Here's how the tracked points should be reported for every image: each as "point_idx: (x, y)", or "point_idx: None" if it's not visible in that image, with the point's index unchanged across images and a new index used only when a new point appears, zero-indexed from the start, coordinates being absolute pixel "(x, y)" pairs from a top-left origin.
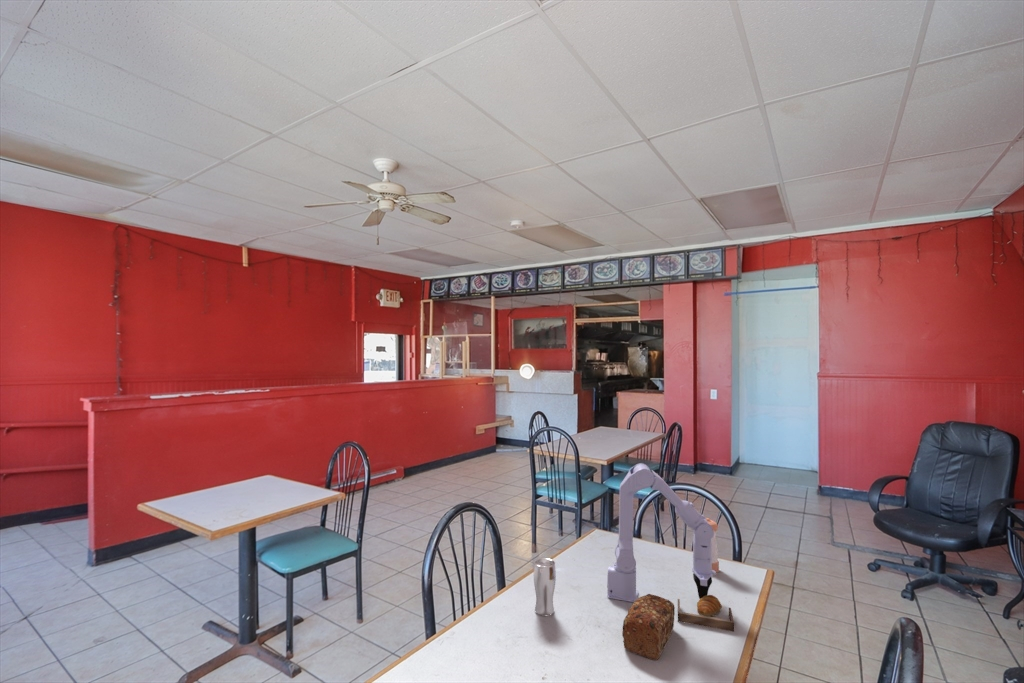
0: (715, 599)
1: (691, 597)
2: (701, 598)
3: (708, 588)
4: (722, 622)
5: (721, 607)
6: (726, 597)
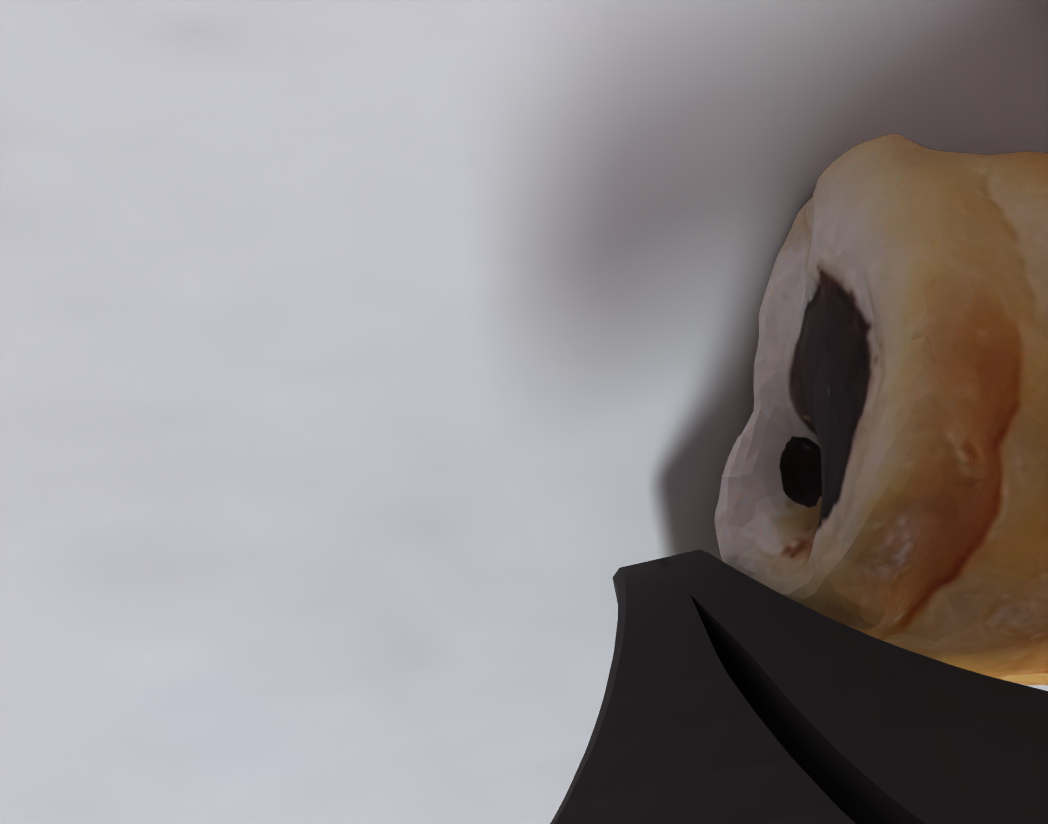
0: (1024, 329)
1: (546, 797)
2: (1029, 670)
3: (981, 678)
4: None
5: (932, 149)
6: (24, 126)
